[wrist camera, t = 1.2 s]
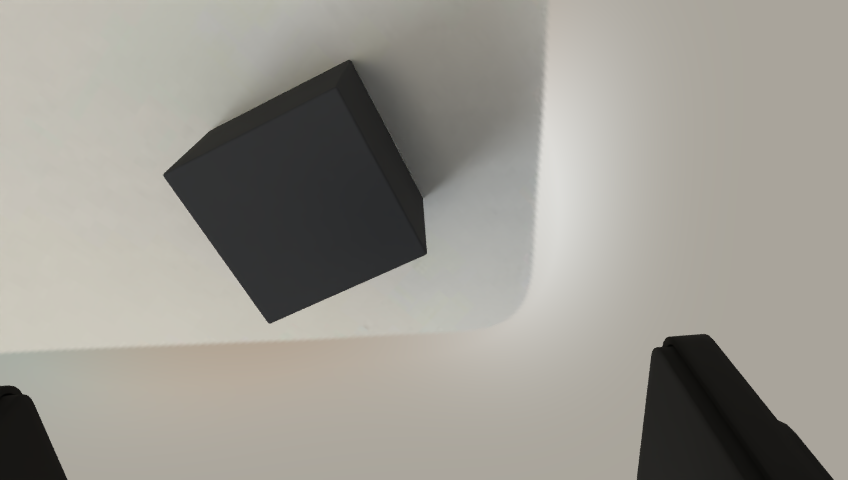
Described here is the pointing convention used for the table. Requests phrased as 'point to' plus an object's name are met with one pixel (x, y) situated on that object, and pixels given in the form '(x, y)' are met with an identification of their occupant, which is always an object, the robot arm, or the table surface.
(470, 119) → the table surface
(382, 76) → the table surface
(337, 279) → the black cube block
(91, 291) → the table surface
